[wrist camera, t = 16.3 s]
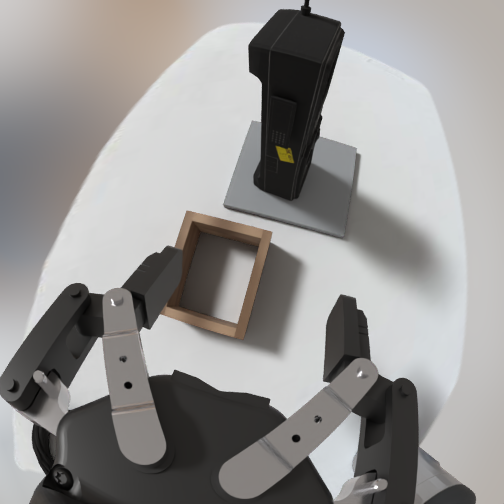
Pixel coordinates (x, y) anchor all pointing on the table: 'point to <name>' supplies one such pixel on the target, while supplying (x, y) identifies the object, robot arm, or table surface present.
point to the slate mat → (313, 191)
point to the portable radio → (292, 93)
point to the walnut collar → (187, 244)
